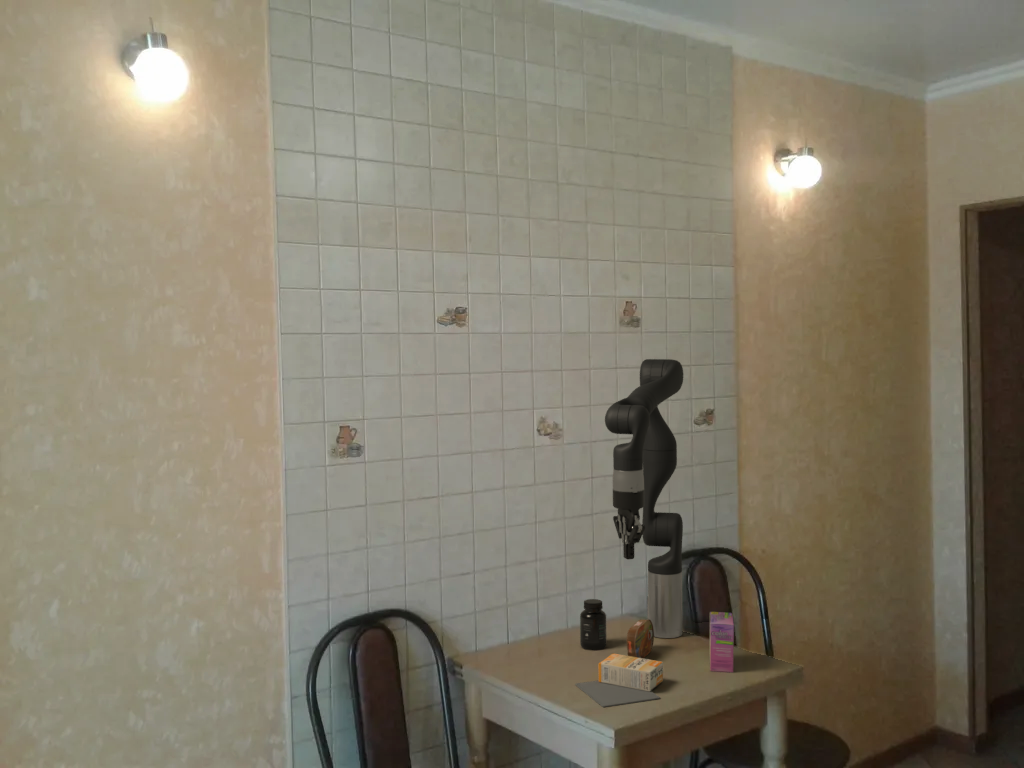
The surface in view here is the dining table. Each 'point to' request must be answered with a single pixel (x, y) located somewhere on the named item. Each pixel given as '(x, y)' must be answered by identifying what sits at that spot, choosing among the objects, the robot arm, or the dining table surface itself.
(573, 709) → the dining table surface
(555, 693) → the dining table surface
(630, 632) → the tin
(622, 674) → the supplement box
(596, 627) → the supplement bottle
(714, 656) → the box
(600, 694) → the mat
